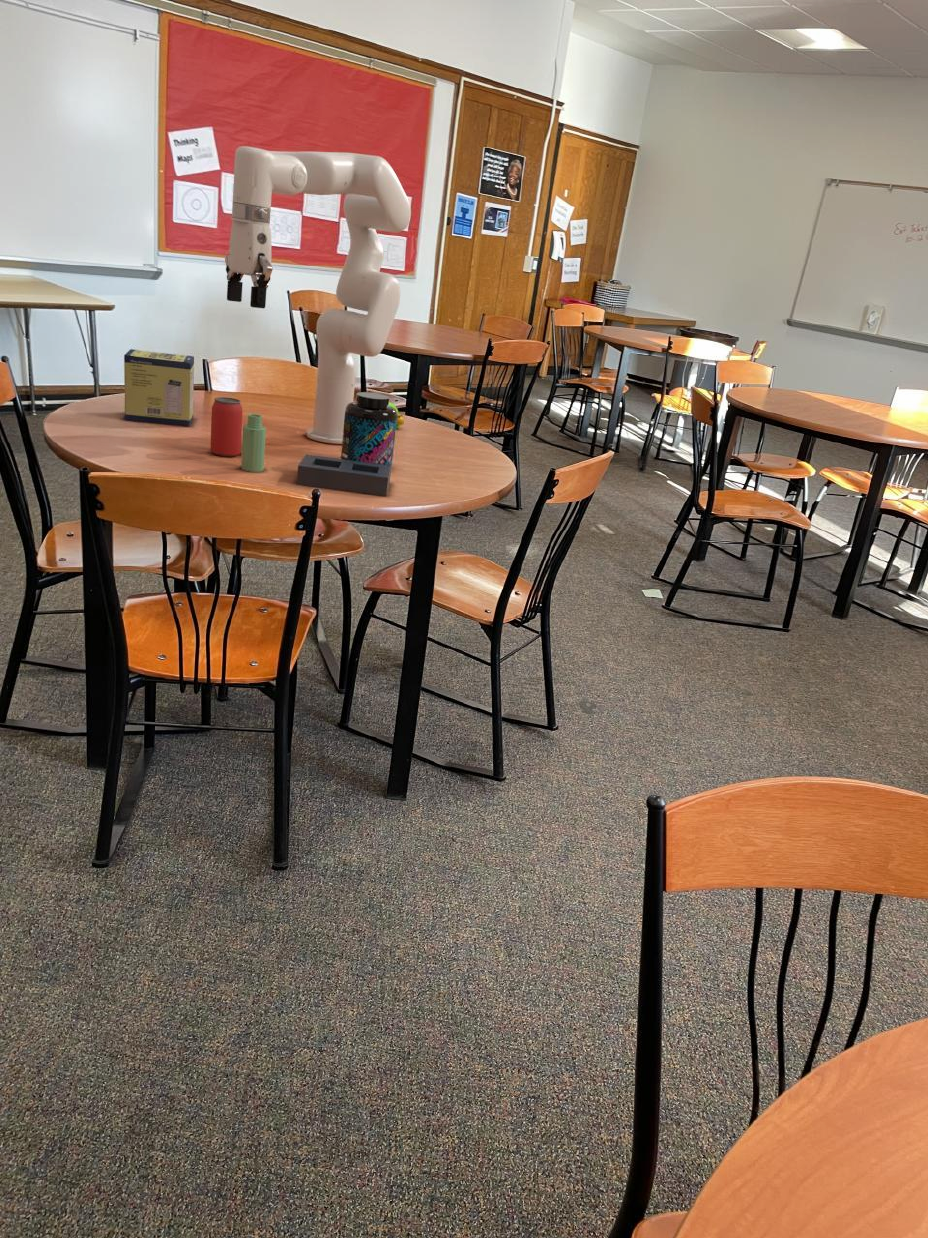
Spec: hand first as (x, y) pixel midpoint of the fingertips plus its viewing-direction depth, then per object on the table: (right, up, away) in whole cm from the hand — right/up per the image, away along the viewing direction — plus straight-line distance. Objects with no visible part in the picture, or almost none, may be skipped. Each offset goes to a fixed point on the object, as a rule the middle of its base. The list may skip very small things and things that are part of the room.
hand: (245, 304), depth 188 cm
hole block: (+20, -37, +4) cm, 42 cm away
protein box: (-30, -16, +35) cm, 49 cm away
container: (+23, -30, +22) cm, 44 cm away
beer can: (-8, -29, +14) cm, 33 cm away
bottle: (0, -34, +5) cm, 34 cm away
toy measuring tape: (+20, -10, +69) cm, 73 cm away
